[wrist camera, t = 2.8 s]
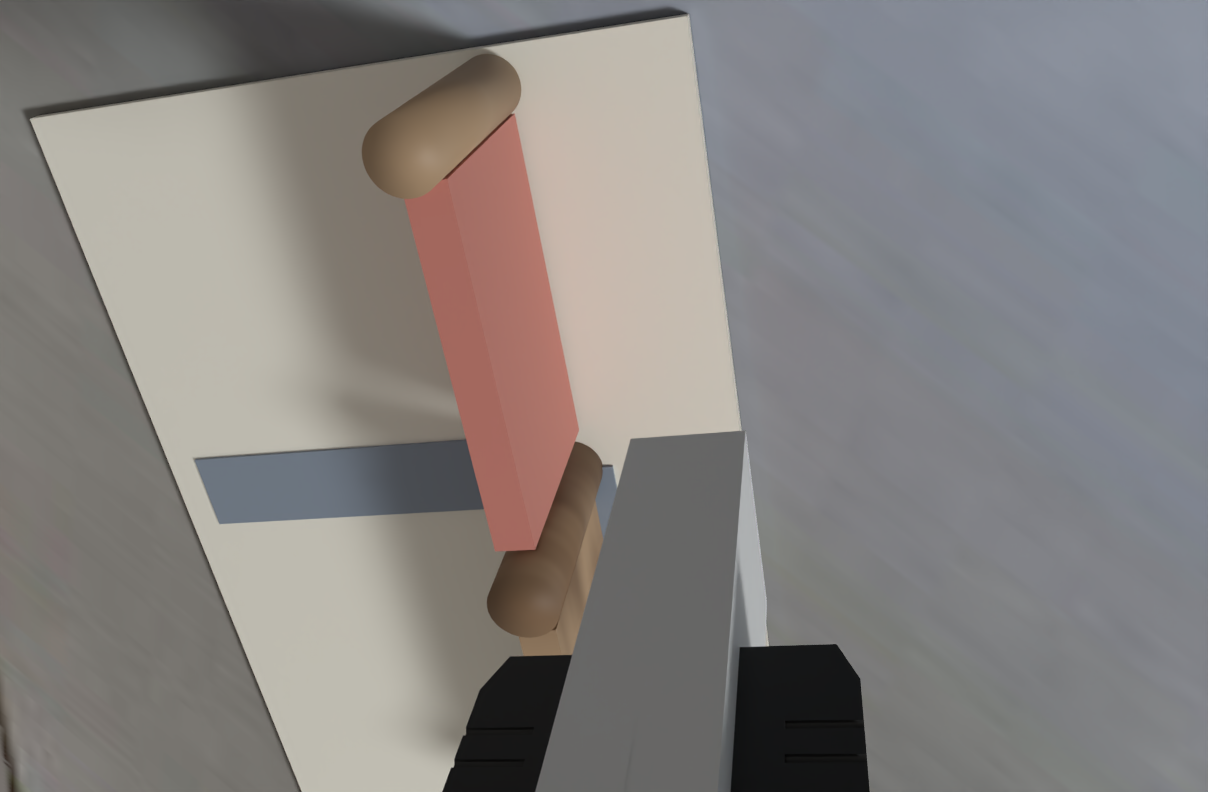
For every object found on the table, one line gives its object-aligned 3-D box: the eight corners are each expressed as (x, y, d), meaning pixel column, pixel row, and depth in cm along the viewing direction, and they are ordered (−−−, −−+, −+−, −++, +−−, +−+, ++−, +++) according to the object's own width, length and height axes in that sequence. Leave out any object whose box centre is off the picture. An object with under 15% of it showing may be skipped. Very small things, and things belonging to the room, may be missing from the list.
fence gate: (451, 58, 26) (351, 121, 20) (513, 49, 25) (431, 110, 20) (535, 433, 30) (474, 572, 25) (589, 429, 30) (540, 569, 24)
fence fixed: (537, 443, 31) (479, 579, 25) (597, 439, 30) (552, 576, 25) (618, 802, 37) (585, 975, 32) (668, 802, 37) (645, 977, 31)
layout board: (38, 115, 29) (27, 119, 29) (689, 13, 25) (687, 16, 25) (319, 815, 41) (313, 826, 40) (790, 820, 37) (790, 832, 36)
